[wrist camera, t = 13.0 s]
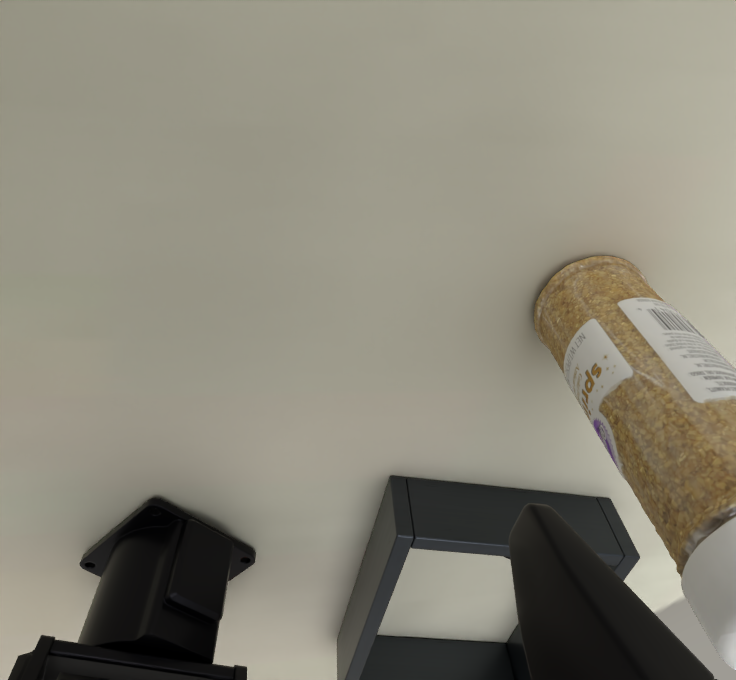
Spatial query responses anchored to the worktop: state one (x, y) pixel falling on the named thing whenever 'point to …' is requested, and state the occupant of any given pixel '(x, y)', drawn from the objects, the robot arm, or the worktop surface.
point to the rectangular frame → (466, 535)
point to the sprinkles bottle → (656, 419)
